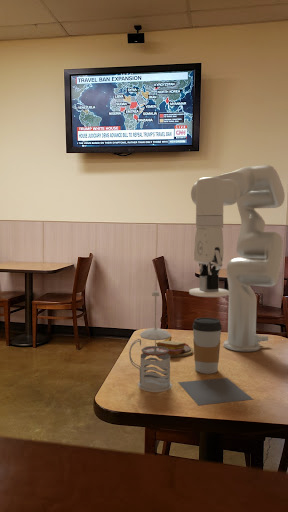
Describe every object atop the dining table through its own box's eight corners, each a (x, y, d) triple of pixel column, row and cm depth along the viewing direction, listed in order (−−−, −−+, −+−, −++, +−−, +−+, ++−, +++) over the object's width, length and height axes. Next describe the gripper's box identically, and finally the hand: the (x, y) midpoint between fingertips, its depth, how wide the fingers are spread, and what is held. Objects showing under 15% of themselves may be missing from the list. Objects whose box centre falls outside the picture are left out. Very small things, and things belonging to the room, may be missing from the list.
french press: (175, 394, 95) (176, 294, 93) (128, 394, 95) (128, 293, 93) (172, 379, 104) (173, 288, 103) (130, 379, 105) (130, 288, 103)
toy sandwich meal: (200, 352, 130) (200, 338, 130) (177, 362, 120) (177, 347, 120) (170, 345, 138) (170, 332, 138) (146, 353, 128) (146, 339, 128)
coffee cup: (220, 378, 106) (221, 324, 105) (190, 375, 108) (191, 322, 107) (221, 367, 114) (221, 317, 113) (192, 365, 116) (193, 316, 115)
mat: (226, 379, 105) (226, 377, 105) (253, 401, 91) (253, 399, 91) (178, 384, 101) (178, 382, 101) (198, 407, 88) (198, 405, 88)
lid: (218, 289, 115) (218, 273, 114) (236, 295, 104) (236, 278, 104) (183, 291, 112) (183, 275, 112) (198, 298, 101) (198, 280, 101)
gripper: (185, 223, 114) (185, 284, 115) (209, 222, 98) (209, 293, 99) (209, 223, 116) (208, 283, 117) (236, 222, 100) (235, 292, 101)
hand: (209, 287), depth 108 cm, fingers closed on lid, 4 cm apart
